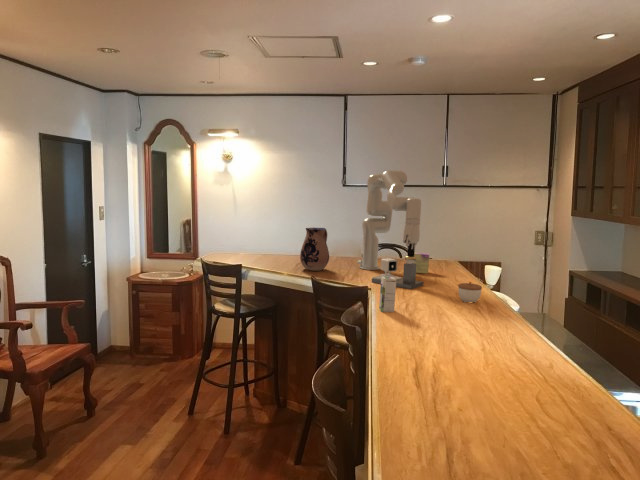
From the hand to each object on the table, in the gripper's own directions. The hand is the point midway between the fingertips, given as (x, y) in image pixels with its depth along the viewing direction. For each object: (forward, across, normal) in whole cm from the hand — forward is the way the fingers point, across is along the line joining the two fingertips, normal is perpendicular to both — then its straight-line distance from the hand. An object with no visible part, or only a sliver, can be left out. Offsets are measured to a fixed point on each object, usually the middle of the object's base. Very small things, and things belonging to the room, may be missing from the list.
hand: (410, 256), depth 275 cm
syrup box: (+16, +53, +17) cm, 58 cm away
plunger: (+12, 0, 0) cm, 12 cm away
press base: (+16, 0, -7) cm, 17 cm away
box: (+16, -40, -14) cm, 46 cm away
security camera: (+13, -1, -13) cm, 19 cm away
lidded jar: (+16, +10, +37) cm, 41 cm away
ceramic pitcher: (+16, 0, -63) cm, 65 cm away
